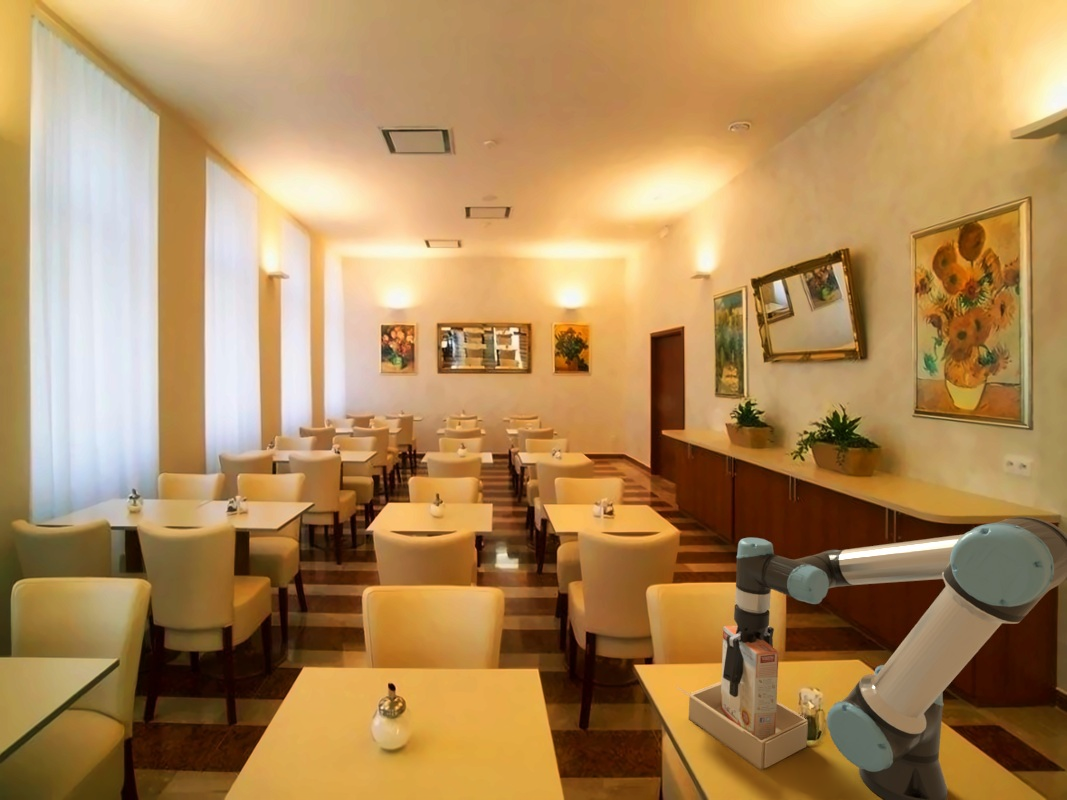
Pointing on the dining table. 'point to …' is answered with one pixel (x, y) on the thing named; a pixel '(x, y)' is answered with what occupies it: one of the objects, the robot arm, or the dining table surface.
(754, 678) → the cracker box
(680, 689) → the flap
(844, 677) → the dining table surface
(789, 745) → the carton
